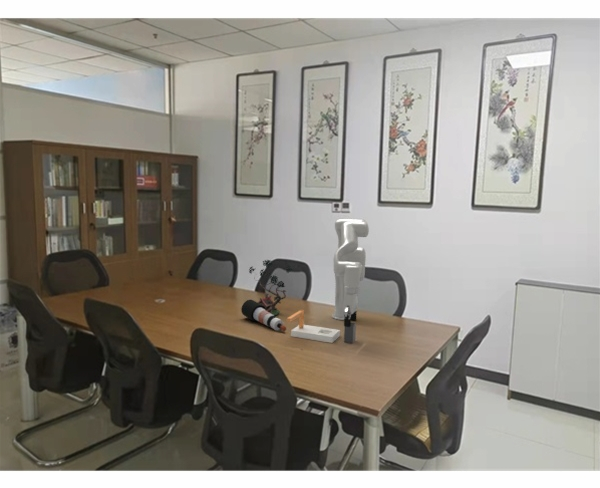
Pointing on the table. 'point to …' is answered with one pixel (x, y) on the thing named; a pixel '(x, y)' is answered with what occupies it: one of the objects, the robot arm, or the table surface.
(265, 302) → the bonsai tree
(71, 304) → the table surface
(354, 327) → the plug
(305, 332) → the socket block
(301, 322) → the orange piece
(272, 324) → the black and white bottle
